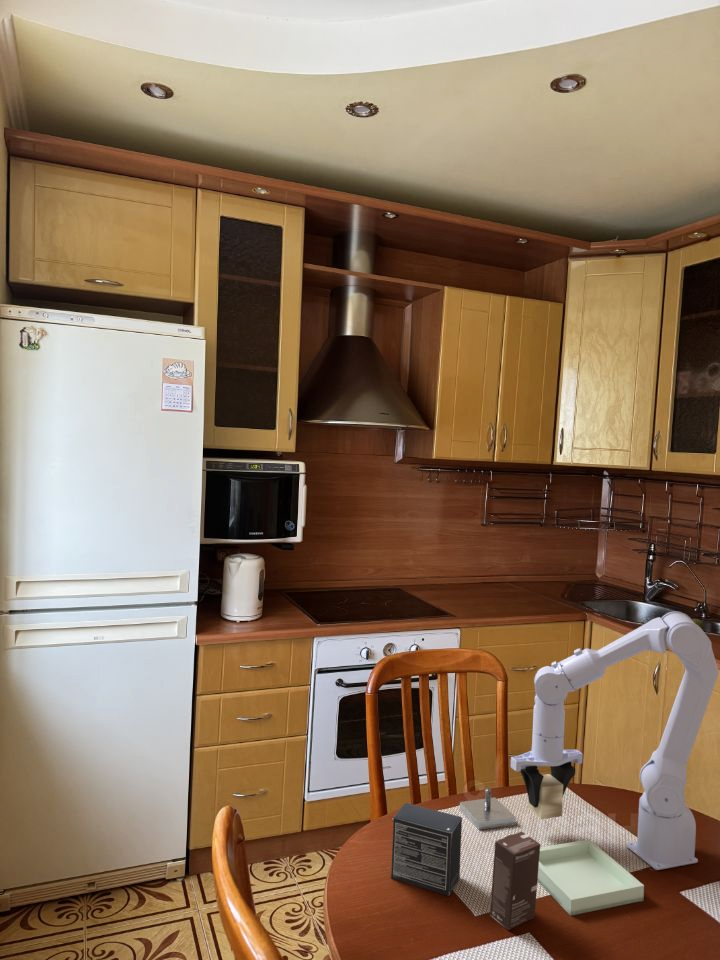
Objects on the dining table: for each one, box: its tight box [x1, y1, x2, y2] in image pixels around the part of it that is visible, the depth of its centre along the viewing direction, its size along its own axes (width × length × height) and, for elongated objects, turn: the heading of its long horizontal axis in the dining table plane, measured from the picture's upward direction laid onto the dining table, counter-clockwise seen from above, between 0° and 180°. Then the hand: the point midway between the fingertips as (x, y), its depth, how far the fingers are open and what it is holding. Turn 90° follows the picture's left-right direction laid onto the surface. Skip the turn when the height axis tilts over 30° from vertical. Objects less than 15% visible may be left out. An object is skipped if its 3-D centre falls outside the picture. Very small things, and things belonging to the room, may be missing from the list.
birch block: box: [527, 773, 564, 820], centre depth 129 cm, size 4×4×6 cm
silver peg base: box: [459, 787, 517, 831], centre depth 136 cm, size 8×8×6 cm
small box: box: [390, 802, 463, 897], centre depth 115 cm, size 11×6×10 cm, turn 65°
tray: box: [537, 839, 645, 916], centre depth 116 cm, size 14×14×2 cm
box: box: [489, 831, 541, 931], centre depth 106 cm, size 6×4×12 cm
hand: (545, 803), depth 129 cm, fingers closed on birch block, 4 cm apart
